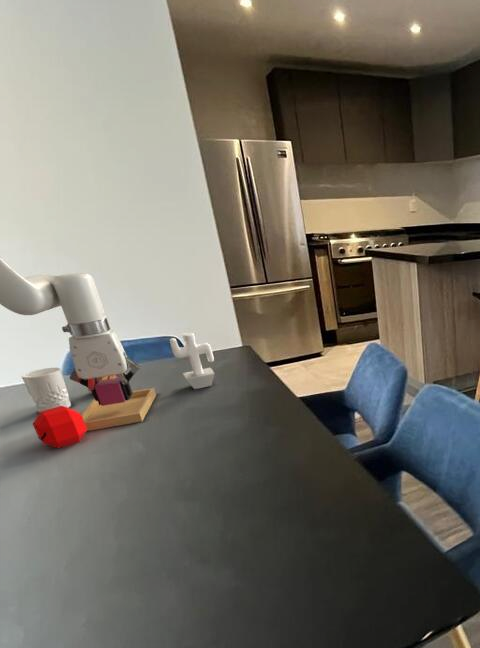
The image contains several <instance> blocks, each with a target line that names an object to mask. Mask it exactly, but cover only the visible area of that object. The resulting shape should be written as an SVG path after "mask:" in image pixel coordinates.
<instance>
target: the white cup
mask: <svg viewBox="0 0 480 648" xmlns="http://www.w3.org/2000/svg"><path fill="white" fill-rule="evenodd" d="M21 379H22V380H23V382H24V386H25V387H26V389H27V391H28V393H29V395H30V397H31V399H32V401H33V402H34V404H35V406H36V408H37V411H38V412H39V413H40V412H41V411H44V410H48V409H52V408H56V407H59V406H65V407H67V408H70V407H71V406H72V402H71V400H70V395H69V392H68V388H67V385H66V382H65V379H64V375H63V373H62V370H61V368H60V367H47V368H41V369H36V370H31V371H28V372H26V373H23V374H22V375H21Z"/></svg>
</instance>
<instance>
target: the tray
mask: <svg viewBox="0 0 480 648" xmlns="http://www.w3.org/2000/svg"><path fill="white" fill-rule="evenodd" d="M156 396H157V393H156V390H155V387H152V388H145V389H140V390H139V389H137V390H132V395H131V398H130V399H129V400H126V401H125V402H123V403H117V404H110V405H104V406H101V405H99V403H98V401H96V400H95V398H94V399H93V400H92V401H91V402H90V404H89V405H88V406H87V407H86V408H85V409H84V411H82V412H81V413H80V414H81V415H82V417H83V420H84V422H85V425H86V428H87V431H86V432H89V431H90V432H91V431H95V430H102V429H106V428H113V427H117V426H118V427H119V426H124V425H131V424H134V423H141V422H143V421H144V419H145V417H146V415H147V413H148V412H149V410H150V408H151V406H152V403H153V402H154V401H155V398H156Z"/></svg>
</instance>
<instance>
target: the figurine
mask: <svg viewBox="0 0 480 648" xmlns="http://www.w3.org/2000/svg"><path fill="white" fill-rule="evenodd" d="M182 339H183V342H184V343H185V346H181V347H180V346H179V344H178V341H177V339H176V338H175V337H171V338H170V339H169V344H170V348H171V351H172V354H173V356H174V357H175V358H176V359H182V358H188V359H189V361H190V362H189V363H190V365H191V369H192V370H191V371H187V372H182V375H183V376H184V379H185V380H186V381H187V382H188V384H189V385H190V386H191V387H192V388H193V389H194V390H198V389H202V388H207V387H212V385H213V381H214V378H215V372H214V370H213V369H212V368H211V367H206V368H203V366H202V362H201V358H200V355H204V354H205V355H206V359H207V361H208V362H209V363H213V362H214V361H215V358H214V354H213V350H212V346H211V344H210V343H208V342H203V343H198V344H197V343H196V337H195V333H194V332H191V331H190V332H184V333H183V334H182Z"/></svg>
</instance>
